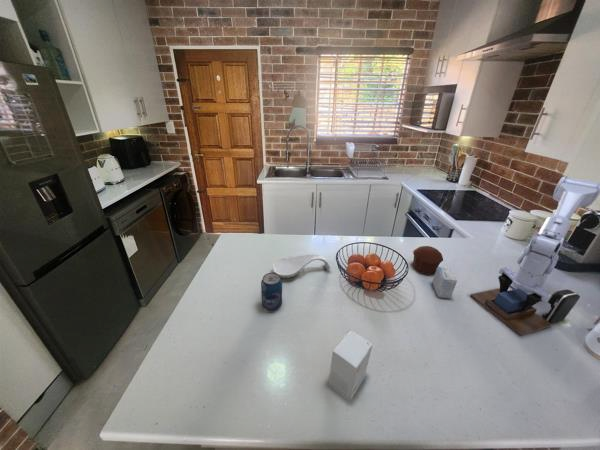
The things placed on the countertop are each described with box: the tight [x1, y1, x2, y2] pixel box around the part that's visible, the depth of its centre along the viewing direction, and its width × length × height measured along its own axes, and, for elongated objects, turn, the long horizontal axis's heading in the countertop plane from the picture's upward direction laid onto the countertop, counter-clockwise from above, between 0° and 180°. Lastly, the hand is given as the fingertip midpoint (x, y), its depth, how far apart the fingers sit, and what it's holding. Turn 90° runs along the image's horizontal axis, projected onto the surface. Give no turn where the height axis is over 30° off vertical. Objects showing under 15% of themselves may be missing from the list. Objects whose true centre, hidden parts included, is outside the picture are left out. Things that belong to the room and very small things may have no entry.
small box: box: [328, 329, 373, 402], centre depth 60 cm, size 8×6×13 cm
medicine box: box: [431, 266, 458, 300], centre depth 93 cm, size 8×4×9 cm, turn 168°
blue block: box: [493, 288, 529, 314], centre depth 85 cm, size 10×5×6 cm, turn 106°
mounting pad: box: [470, 288, 553, 337], centre depth 86 cm, size 14×18×3 cm
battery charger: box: [541, 289, 581, 323], centre depth 82 cm, size 7×4×11 cm, turn 103°
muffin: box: [412, 245, 444, 275], centre depth 105 cm, size 12×11×10 cm
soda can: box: [260, 272, 283, 313], centre depth 82 cm, size 7×7×12 cm
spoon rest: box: [272, 253, 331, 279], centre depth 101 cm, size 24×12×7 cm, turn 103°
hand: (512, 301), depth 85 cm, fingers open, 7 cm apart
